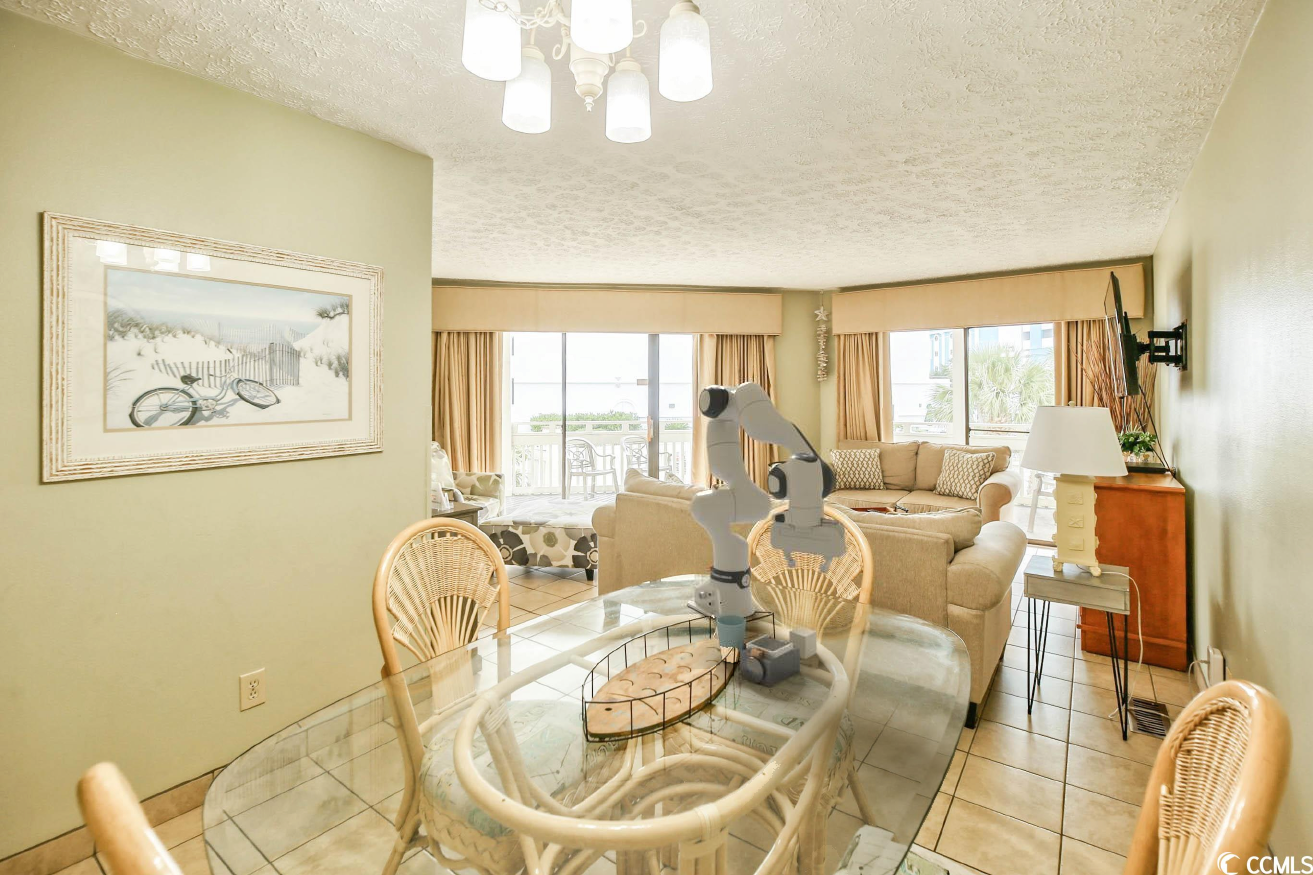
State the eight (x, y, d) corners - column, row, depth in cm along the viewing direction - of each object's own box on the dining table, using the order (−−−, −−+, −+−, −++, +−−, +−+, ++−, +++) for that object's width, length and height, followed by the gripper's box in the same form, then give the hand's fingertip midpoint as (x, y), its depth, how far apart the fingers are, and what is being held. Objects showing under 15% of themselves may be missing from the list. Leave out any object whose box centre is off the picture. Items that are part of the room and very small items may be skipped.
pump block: (789, 653, 163) (789, 631, 163) (803, 646, 168) (803, 624, 167) (805, 659, 160) (805, 636, 159) (819, 651, 164) (819, 629, 163)
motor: (737, 676, 151) (737, 646, 150) (772, 658, 160) (772, 630, 159) (767, 688, 144) (767, 657, 143) (801, 669, 153) (801, 640, 153)
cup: (736, 668, 155) (736, 627, 154) (711, 660, 160) (710, 621, 159) (751, 657, 161) (751, 618, 160) (726, 650, 166) (726, 612, 165)
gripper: (850, 518, 154) (851, 573, 155) (778, 511, 168) (780, 561, 168) (838, 522, 149) (839, 578, 150) (766, 515, 163) (767, 566, 164)
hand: (807, 569), depth 159 cm, fingers open, 8 cm apart
